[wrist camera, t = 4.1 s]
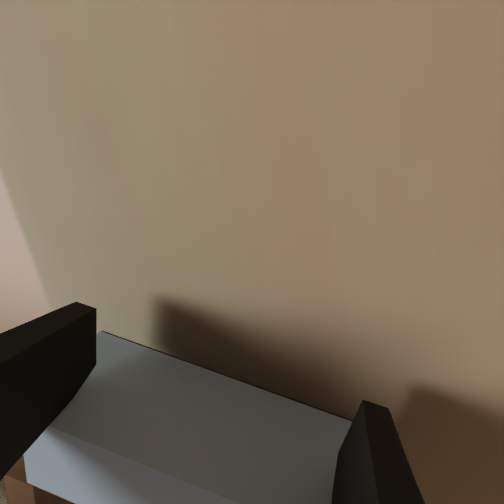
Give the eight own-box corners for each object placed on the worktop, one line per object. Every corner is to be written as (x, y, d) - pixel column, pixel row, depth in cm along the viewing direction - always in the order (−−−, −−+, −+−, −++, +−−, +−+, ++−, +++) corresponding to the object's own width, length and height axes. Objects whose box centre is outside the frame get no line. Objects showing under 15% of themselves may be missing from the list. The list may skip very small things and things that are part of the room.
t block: (97, 474, 17) (38, 565, 14) (100, 330, 13) (17, 413, 10) (302, 560, 16) (285, 681, 13) (371, 428, 12) (370, 557, 9)
